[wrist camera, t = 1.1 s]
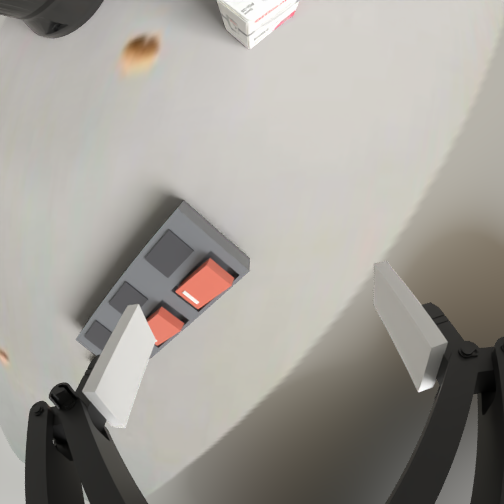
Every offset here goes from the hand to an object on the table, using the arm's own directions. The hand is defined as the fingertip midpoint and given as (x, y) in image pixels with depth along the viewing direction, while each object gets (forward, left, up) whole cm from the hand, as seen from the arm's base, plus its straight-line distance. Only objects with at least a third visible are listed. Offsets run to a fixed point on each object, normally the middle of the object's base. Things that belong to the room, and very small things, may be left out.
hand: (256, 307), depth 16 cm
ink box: (-16, +18, -28) cm, 37 cm away
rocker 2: (+4, -14, -23) cm, 27 cm away
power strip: (0, -30, -27) cm, 40 cm away
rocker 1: (+4, -26, -23) cm, 34 cm away
